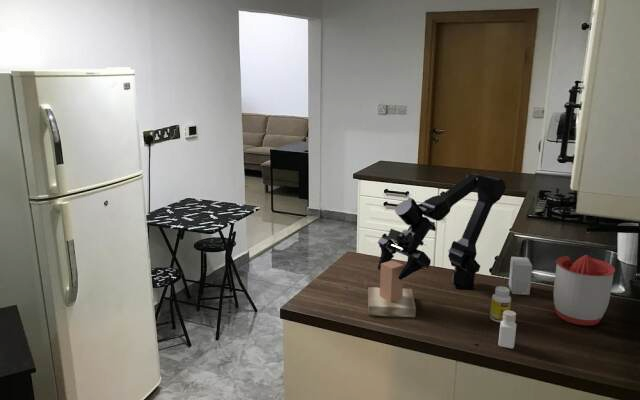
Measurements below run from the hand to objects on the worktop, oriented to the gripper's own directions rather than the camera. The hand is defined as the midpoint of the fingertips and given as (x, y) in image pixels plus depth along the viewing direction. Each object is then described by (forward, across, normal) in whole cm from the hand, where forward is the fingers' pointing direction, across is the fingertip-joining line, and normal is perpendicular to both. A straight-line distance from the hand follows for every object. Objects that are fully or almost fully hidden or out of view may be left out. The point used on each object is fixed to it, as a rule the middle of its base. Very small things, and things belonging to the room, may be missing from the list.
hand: (388, 274), depth 159 cm
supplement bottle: (-8, +25, +24) cm, 35 cm away
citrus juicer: (-22, +38, +38) cm, 58 cm away
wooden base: (+7, 0, +9) cm, 11 cm away
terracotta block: (+5, 0, +7) cm, 8 cm away
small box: (-24, +16, +40) cm, 49 cm away
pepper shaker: (0, +35, +16) cm, 39 cm away
